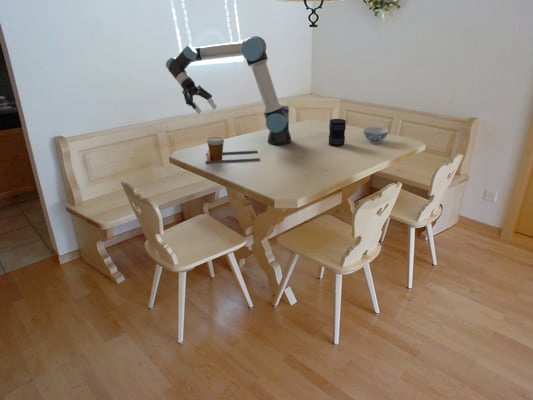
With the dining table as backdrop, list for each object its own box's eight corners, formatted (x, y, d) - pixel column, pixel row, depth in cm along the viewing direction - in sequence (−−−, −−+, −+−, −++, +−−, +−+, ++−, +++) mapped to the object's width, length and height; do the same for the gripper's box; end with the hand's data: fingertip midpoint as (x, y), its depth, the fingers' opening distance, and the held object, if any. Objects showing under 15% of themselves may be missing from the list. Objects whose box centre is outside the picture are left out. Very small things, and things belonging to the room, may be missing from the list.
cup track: (257, 152, 233) (257, 147, 232) (259, 160, 219) (259, 155, 218) (206, 154, 230) (206, 149, 229) (205, 163, 217) (205, 158, 215)
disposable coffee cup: (222, 162, 217) (221, 141, 212) (205, 161, 218) (204, 140, 213) (226, 157, 225) (226, 137, 220) (210, 156, 227) (209, 136, 222)
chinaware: (381, 147, 238) (382, 134, 235) (358, 143, 247) (359, 130, 243) (390, 141, 249) (392, 129, 246) (368, 137, 257) (369, 125, 254)
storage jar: (327, 146, 242) (328, 122, 235) (329, 141, 250) (330, 118, 244) (343, 147, 239) (345, 123, 233) (345, 142, 248) (347, 119, 241)
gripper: (197, 83, 240) (218, 110, 239) (167, 89, 221) (189, 118, 220) (203, 74, 235) (224, 102, 234) (172, 80, 216) (196, 110, 215)
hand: (207, 110), depth 227 cm, fingers open, 13 cm apart
